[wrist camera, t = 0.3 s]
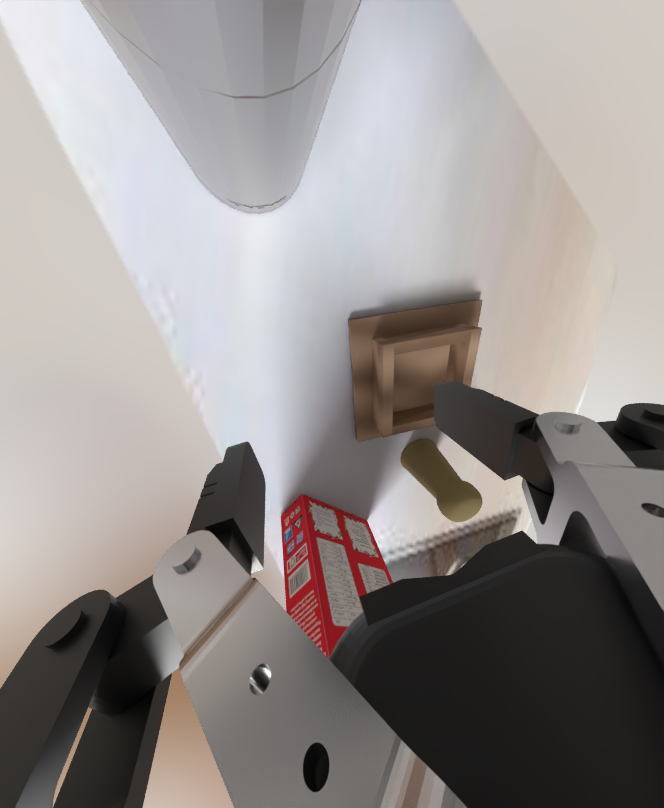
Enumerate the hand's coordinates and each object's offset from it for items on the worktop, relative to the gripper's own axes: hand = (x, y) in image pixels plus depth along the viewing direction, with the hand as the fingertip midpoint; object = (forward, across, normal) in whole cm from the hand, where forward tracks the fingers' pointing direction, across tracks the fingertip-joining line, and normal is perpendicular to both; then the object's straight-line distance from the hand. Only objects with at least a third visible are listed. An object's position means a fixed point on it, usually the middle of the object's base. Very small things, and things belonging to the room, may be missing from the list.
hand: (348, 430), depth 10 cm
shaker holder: (+18, -13, +7) cm, 23 cm away
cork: (+19, -14, +21) cm, 31 cm away
